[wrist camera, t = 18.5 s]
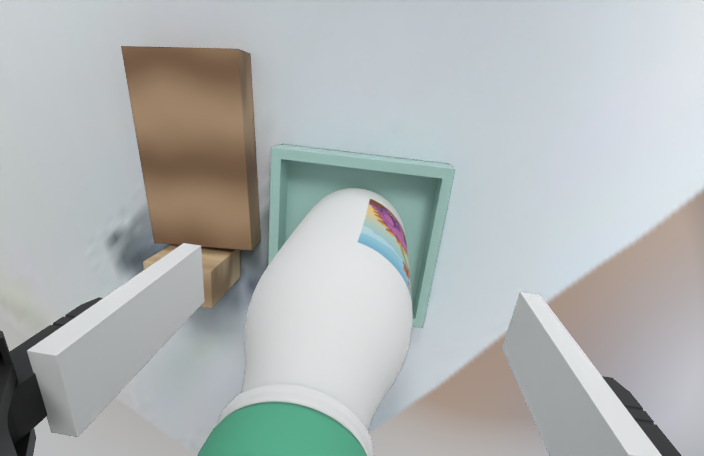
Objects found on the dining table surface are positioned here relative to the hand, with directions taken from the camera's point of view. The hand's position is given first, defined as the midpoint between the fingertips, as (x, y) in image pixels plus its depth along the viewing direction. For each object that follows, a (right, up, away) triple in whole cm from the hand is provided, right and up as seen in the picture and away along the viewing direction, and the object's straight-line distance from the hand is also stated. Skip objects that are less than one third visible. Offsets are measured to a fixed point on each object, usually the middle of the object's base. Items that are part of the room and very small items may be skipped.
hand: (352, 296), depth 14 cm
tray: (0, +2, +13) cm, 13 cm away
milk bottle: (0, +2, +13) cm, 13 cm away
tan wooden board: (-11, +9, +13) cm, 19 cm away
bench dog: (-12, 0, +15) cm, 19 cm away
